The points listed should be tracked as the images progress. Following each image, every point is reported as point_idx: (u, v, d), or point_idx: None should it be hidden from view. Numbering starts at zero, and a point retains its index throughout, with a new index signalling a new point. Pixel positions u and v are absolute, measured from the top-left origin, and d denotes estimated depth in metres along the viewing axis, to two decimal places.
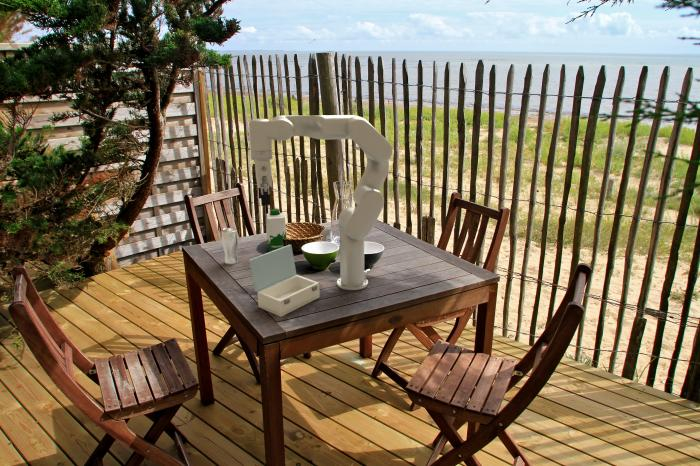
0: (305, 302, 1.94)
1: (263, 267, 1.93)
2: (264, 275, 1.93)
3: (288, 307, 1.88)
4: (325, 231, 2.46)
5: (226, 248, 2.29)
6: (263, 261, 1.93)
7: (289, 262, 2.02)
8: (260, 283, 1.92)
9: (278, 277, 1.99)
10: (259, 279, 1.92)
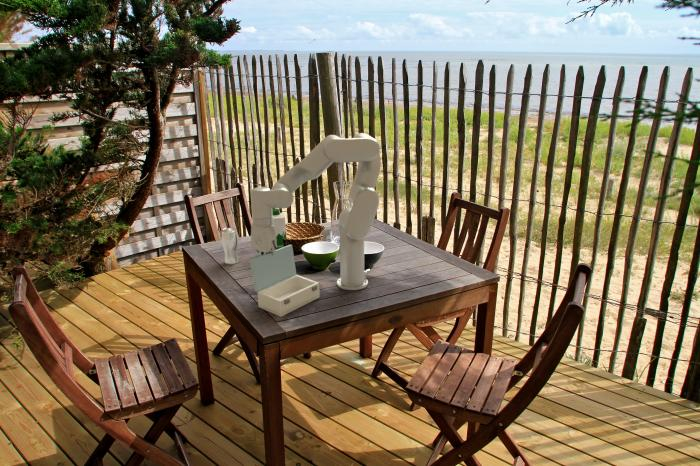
0: (305, 302, 1.94)
1: (263, 267, 1.93)
2: (264, 275, 1.93)
3: (288, 307, 1.88)
4: (325, 231, 2.46)
5: (226, 248, 2.29)
6: (264, 261, 1.93)
7: (289, 262, 2.02)
8: (260, 283, 1.92)
9: (279, 277, 1.99)
10: (259, 279, 1.92)
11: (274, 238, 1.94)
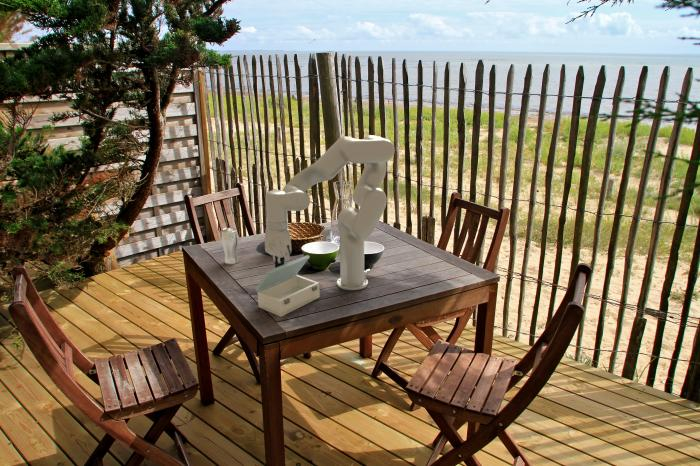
0: (305, 302, 1.94)
1: (275, 276, 1.90)
2: (271, 280, 1.91)
3: (288, 307, 1.88)
4: (325, 231, 2.46)
5: (226, 248, 2.29)
6: (278, 272, 1.89)
7: (298, 268, 2.00)
8: (264, 286, 1.91)
9: (281, 279, 1.98)
10: (265, 283, 1.90)
11: (289, 243, 1.89)
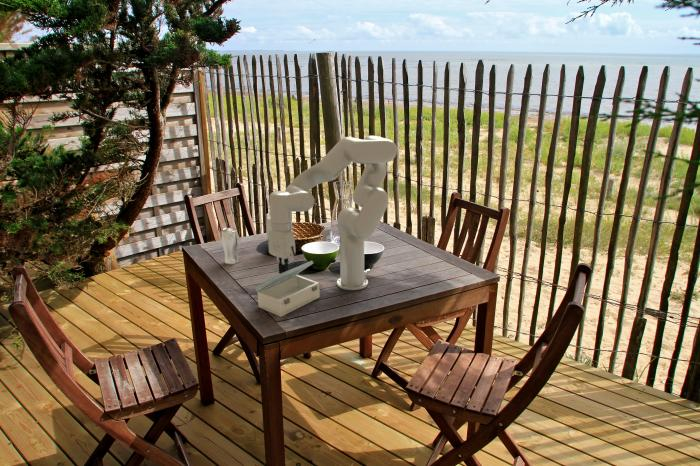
0: (305, 302, 1.94)
1: (277, 280, 1.89)
2: (272, 283, 1.91)
3: (288, 307, 1.88)
4: (325, 231, 2.46)
5: (226, 248, 2.29)
6: (281, 277, 1.88)
7: (299, 271, 2.00)
8: (264, 287, 1.91)
9: (281, 280, 1.98)
10: (266, 286, 1.90)
11: (293, 244, 1.87)
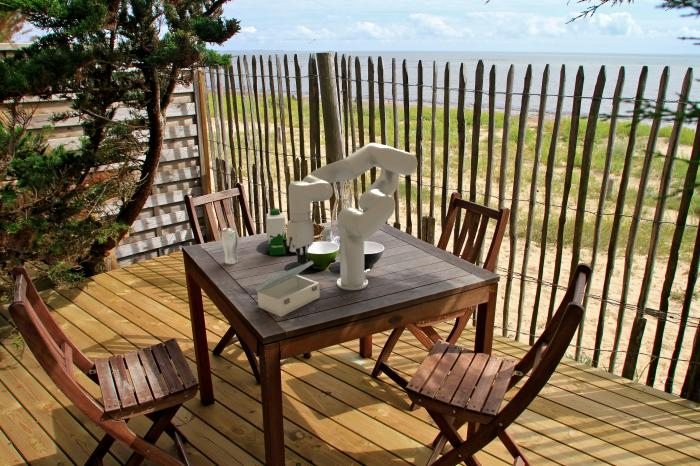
0: (305, 302, 1.94)
1: (277, 280, 1.89)
2: (272, 283, 1.91)
3: (288, 307, 1.88)
4: (325, 231, 2.46)
5: (226, 248, 2.29)
6: (281, 277, 1.88)
7: (299, 271, 2.00)
8: (264, 287, 1.91)
9: (281, 280, 1.98)
10: (266, 286, 1.90)
11: (292, 235, 1.87)
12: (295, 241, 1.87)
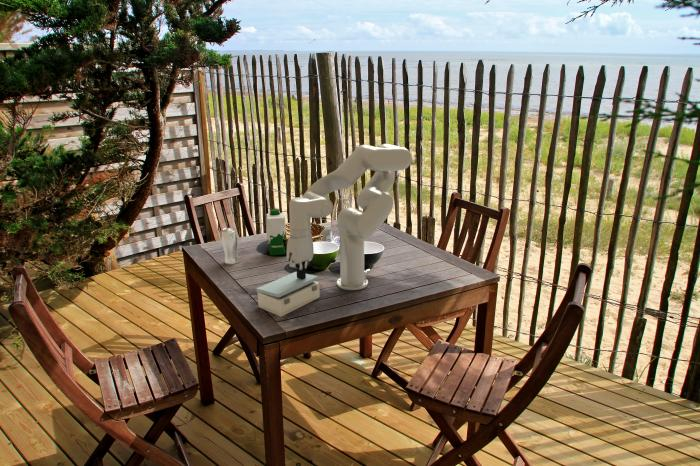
0: (305, 302, 1.94)
1: None
2: None
3: (288, 307, 1.88)
4: (325, 231, 2.46)
5: (226, 248, 2.29)
6: None
7: None
8: None
9: None
10: None
11: (292, 251, 1.89)
12: (295, 257, 1.89)
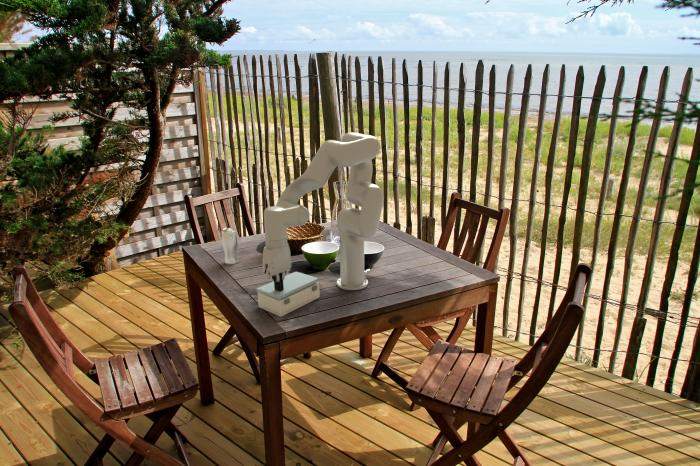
0: (305, 302, 1.94)
1: None
2: None
3: (288, 307, 1.88)
4: (325, 231, 2.46)
5: (226, 248, 2.29)
6: None
7: None
8: None
9: None
10: None
11: (268, 262, 1.80)
12: (271, 268, 1.81)
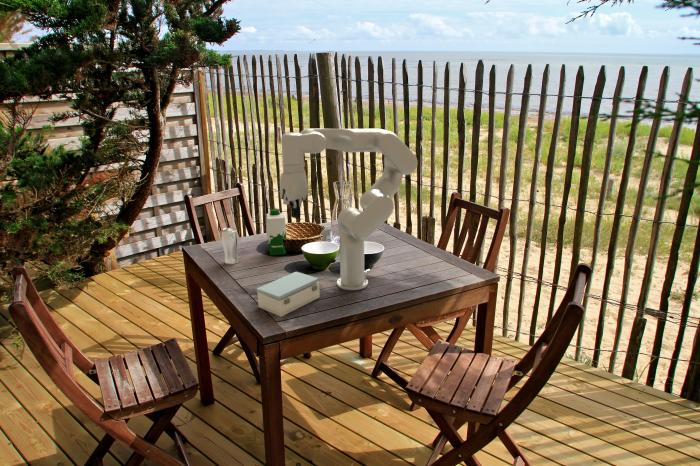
0: (305, 302, 1.94)
1: None
2: None
3: (288, 307, 1.88)
4: (325, 231, 2.46)
5: (226, 248, 2.29)
6: None
7: None
8: None
9: None
10: None
11: (285, 187, 1.84)
12: (288, 193, 1.84)
